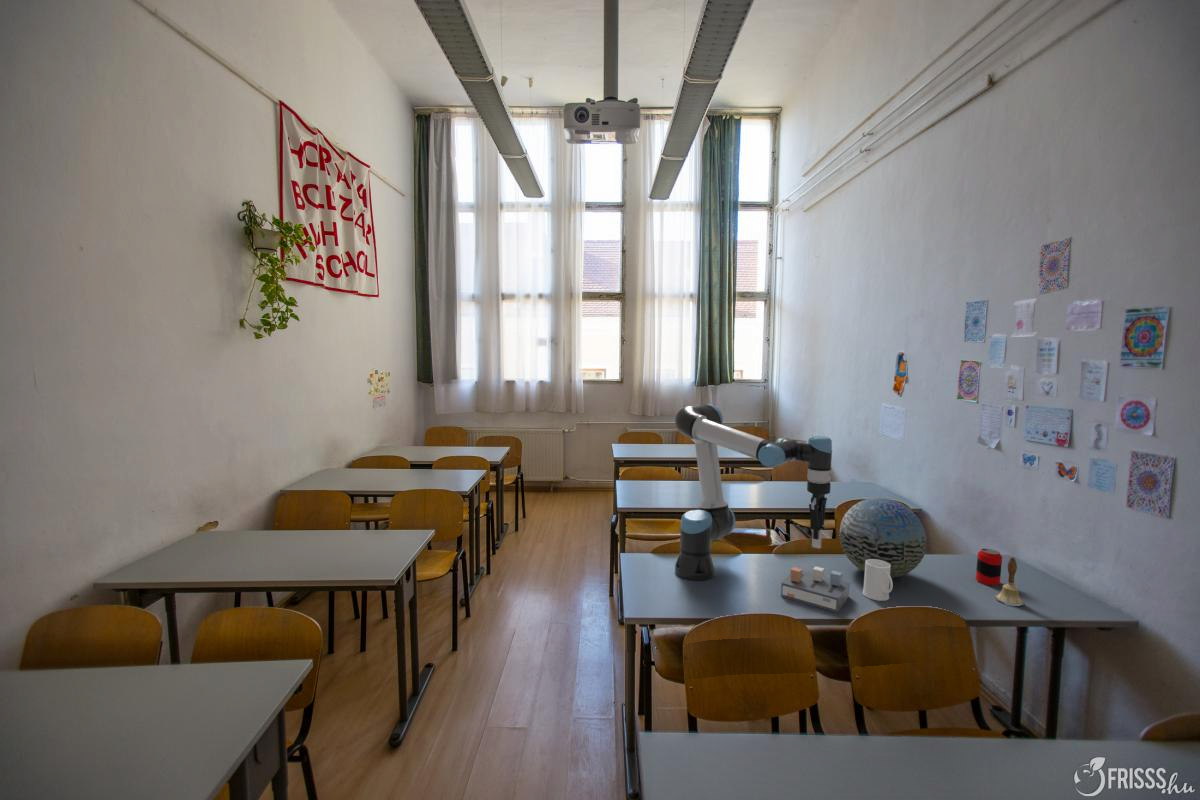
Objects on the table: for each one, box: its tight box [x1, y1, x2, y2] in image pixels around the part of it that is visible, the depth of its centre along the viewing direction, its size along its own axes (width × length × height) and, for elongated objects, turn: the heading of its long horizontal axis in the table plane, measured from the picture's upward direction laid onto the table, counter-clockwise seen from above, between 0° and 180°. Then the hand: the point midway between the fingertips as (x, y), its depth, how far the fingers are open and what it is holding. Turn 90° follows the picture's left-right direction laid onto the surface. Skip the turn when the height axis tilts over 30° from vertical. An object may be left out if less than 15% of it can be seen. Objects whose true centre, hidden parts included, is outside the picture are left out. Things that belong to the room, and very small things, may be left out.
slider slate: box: [829, 570, 843, 586], centre depth 196 cm, size 3×3×4 cm
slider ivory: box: [812, 566, 825, 582], centre depth 199 cm, size 3×3×4 cm
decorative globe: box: [839, 497, 927, 579], centre depth 216 cm, size 30×30×30 cm
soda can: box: [975, 548, 1003, 586], centre depth 212 cm, size 8×8×12 cm
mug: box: [862, 559, 894, 602], centre depth 197 cm, size 12×8×12 cm
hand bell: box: [995, 556, 1024, 604], centre depth 195 cm, size 8×8×16 cm
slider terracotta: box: [790, 566, 803, 583], centre depth 199 cm, size 3×3×4 cm
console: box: [780, 570, 850, 613], centre depth 197 cm, size 19×16×5 cm
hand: (816, 547), depth 196 cm, fingers closed
